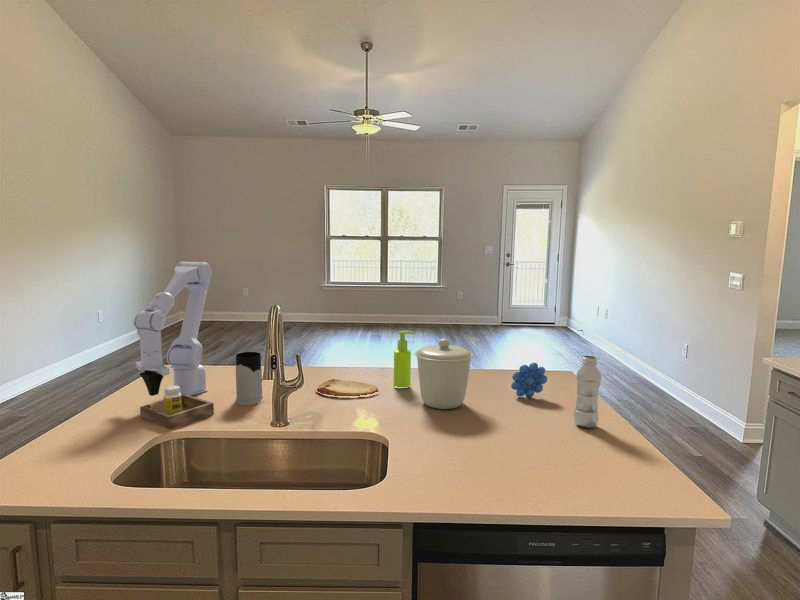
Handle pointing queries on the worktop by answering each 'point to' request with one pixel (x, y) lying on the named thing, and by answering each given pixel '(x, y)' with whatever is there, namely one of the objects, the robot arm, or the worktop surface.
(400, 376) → the soap dispenser
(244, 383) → the grey and black cylinder
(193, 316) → the robot arm
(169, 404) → the supplement bottle
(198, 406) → the walled box
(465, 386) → the canister
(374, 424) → the worktop surface
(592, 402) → the plastic bottle
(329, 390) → the slice of bread
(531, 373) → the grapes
